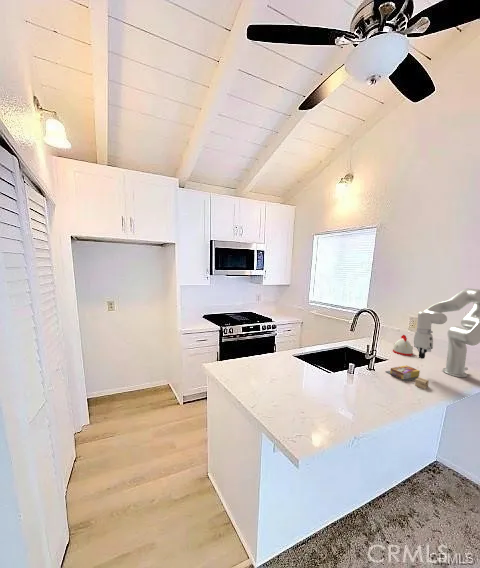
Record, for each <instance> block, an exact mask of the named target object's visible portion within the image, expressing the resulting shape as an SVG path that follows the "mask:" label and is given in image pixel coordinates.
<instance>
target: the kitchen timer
mask: <svg viewBox="0 0 480 568" xmlns="http://www.w3.org/2000/svg"><path fill="white" fill-rule="evenodd" d="M413 349H414V345H411V343H410V342H409V341H408V338H407V336H406V335H405V334H402V335H401V336H400V339H398V340H397V341H396V342H395V343H393V348H392V352H393V353H394V354H396V353H397V355H399V354H400V356H406V357H412V356H413V354H414V353H413V352H414V351H413Z"/></svg>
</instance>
